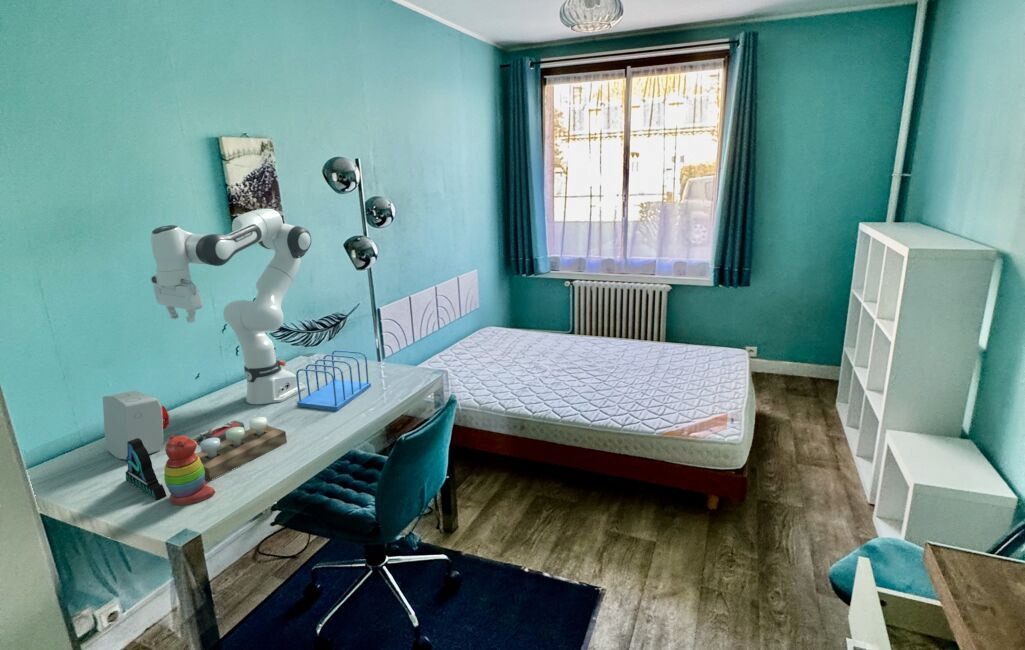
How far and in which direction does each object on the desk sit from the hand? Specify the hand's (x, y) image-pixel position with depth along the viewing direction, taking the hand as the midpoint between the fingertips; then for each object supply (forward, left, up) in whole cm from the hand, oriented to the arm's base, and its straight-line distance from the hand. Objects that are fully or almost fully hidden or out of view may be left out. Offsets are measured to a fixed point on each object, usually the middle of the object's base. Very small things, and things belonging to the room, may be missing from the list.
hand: (183, 320), depth 173 cm
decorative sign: (+28, +18, -40) cm, 53 cm away
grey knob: (+12, +25, -36) cm, 46 cm away
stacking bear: (+24, +33, -40) cm, 58 cm away
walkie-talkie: (+1, +7, -41) cm, 41 cm away
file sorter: (-43, +16, -40) cm, 62 cm away
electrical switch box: (+15, -8, -40) cm, 44 cm away
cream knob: (-4, +25, -36) cm, 44 cm away
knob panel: (+4, +25, -40) cm, 48 cm away
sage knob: (+4, +25, -36) cm, 44 cm away
